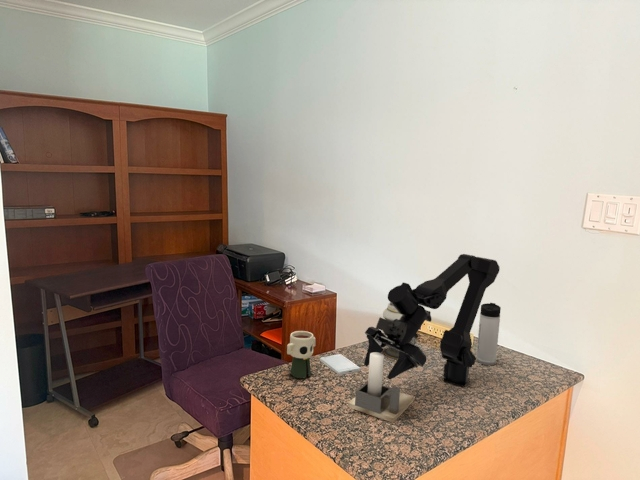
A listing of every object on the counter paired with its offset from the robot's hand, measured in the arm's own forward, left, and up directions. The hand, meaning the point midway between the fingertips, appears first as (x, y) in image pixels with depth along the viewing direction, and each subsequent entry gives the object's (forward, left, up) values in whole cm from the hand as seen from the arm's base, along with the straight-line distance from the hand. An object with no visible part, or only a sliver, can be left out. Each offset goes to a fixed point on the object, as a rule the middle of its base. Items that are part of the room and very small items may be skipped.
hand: (376, 371), depth 116 cm
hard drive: (+21, -19, -11) cm, 30 cm away
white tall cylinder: (0, 0, -8) cm, 8 cm away
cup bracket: (-1, 0, -9) cm, 9 cm away
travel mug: (-17, -52, -11) cm, 55 cm away
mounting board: (0, -4, -10) cm, 11 cm away
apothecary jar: (+10, -40, -11) cm, 42 cm away
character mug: (+27, -5, -11) cm, 30 cm away
